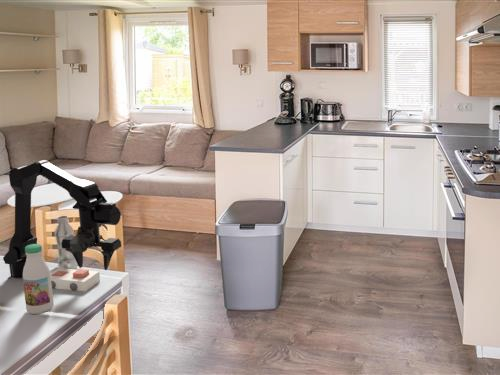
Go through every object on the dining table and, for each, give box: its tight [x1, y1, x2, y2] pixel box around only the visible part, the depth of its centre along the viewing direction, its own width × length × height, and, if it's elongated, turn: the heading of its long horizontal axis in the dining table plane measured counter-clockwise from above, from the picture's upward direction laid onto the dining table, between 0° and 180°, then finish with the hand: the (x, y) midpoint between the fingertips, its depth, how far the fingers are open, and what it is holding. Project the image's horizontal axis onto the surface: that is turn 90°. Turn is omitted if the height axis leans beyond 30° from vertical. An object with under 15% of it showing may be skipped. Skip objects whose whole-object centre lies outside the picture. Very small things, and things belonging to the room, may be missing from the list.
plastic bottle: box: [54, 215, 78, 270], centre depth 193 cm, size 6×7×20 cm
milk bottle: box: [22, 243, 55, 315], centre depth 162 cm, size 8×8×20 cm
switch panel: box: [49, 266, 101, 292], centre depth 181 cm, size 17×9×4 cm, turn 74°
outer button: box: [73, 268, 90, 278], centre depth 180 cm, size 4×4×2 cm
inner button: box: [52, 271, 68, 276], centre depth 182 cm, size 4×4×2 cm
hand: (93, 268), depth 178 cm, fingers open, 9 cm apart
